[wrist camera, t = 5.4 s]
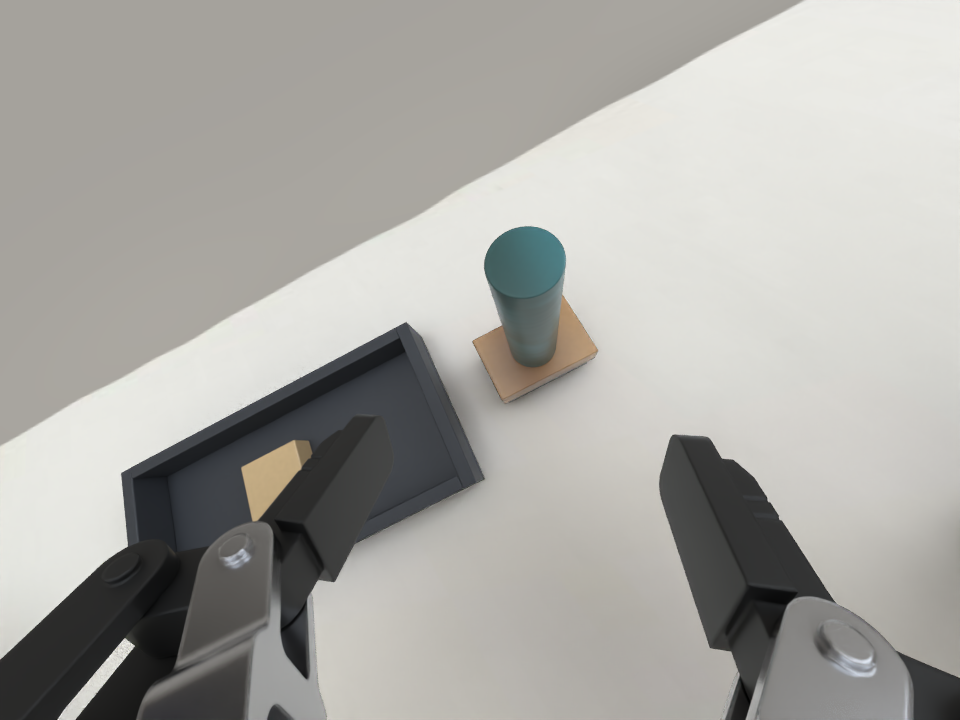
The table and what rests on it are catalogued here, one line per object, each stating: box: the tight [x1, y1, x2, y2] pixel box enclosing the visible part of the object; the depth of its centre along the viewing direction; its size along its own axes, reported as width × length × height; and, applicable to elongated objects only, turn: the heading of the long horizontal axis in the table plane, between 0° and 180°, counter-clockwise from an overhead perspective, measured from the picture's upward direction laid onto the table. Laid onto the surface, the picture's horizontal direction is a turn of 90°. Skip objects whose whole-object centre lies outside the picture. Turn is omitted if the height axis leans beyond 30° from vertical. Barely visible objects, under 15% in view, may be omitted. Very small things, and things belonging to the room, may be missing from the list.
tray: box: [121, 322, 484, 553], centre depth 22 cm, size 22×11×3 cm, turn 116°
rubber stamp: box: [473, 226, 598, 403], centre depth 16 cm, size 6×4×12 cm, turn 116°
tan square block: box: [241, 440, 313, 521], centre depth 22 cm, size 4×4×2 cm
